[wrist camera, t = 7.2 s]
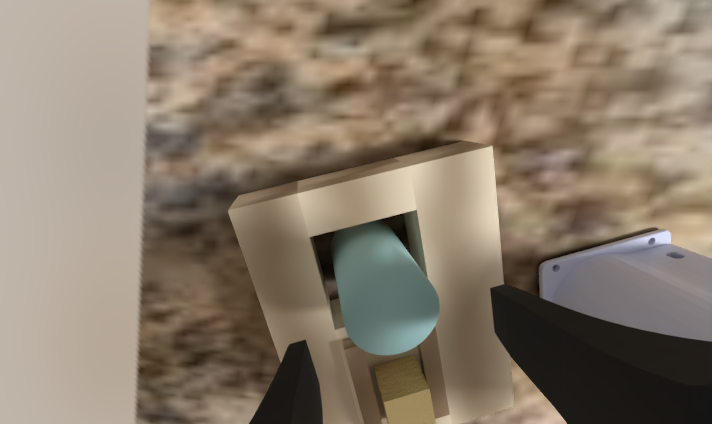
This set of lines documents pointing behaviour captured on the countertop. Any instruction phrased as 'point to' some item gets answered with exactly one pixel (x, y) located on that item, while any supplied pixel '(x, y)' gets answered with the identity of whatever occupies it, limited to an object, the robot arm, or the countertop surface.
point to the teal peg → (382, 290)
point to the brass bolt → (404, 392)
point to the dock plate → (427, 247)
